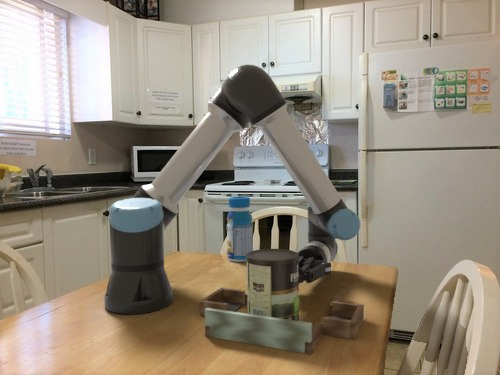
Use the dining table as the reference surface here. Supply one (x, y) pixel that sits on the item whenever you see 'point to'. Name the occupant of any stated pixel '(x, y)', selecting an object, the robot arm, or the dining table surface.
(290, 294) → the coffee can
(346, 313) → the wooden tray
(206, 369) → the dining table surface
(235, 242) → the beverage bottle
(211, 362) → the dining table surface
